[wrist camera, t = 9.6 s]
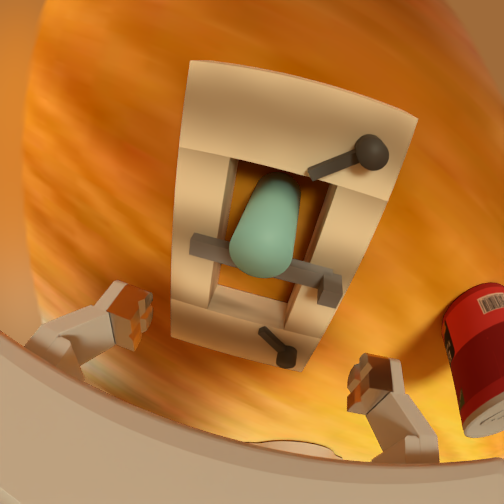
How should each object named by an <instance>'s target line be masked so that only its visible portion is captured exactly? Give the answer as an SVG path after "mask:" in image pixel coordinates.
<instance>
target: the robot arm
mask: <svg viewBox="0 0 504 504" xmlns="http://www.w3.org/2000/svg"><path fill="white" fill-rule="evenodd" d="M152 301H153V294H152V293H151V292H148V291H146V290H143V289H141V288H138V287H135V286H133V285H130V284H127V283H125V282H122V281H120V280H116V281H114V282H113V283H112V284H111V285H110V287H109V288H108V289H107V290H106V292H105V293H104V294H103V295H102V297H101V298H100V299H99V300H98V302H97V303H96V304H95V305H94V306H92V305H89V306H87V307H84V308H82V309H79V310H77V311H74V312H72V313H69V314H67V315H64V316H62V317H59V318H57V319H54V320H52V321H49V322H47V323H44V324H42V325H41V326H40V327H39V328H38V330H37V331H36V332H35V333H34V335H33V336H32V337H31V338H30V340H29V341H28V342H27V343H26V345H25V346H22V345H20V344H19V343H18V342H16V341H15V340H13V339H12V338H10V337H9V336H7V335H6V334H4V333H3V332H2V331H0V504H504V460H503V459H502V458H489V459H481V460H472V461H461V462H447V463H440V462H439V450H438V440H437V435H436V434H435V432H434V431H433V429H432V428H431V426H430V425H429V423H428V422H427V421H426V419H425V418H424V416H423V415H422V413H421V412H420V411H419V409H418V408H417V406H416V405H415V404H414V402H413V401H412V399H411V398H410V397H409V395H408V394H405V389H404V381H403V374H402V367H401V362H400V360H398V359H393V358H387V357H383V356H378V355H373V354H368V353H364V354H363V355H362V356H361V357H360V363H359V364H356V365H354V367H353V368H352V369H351V371H350V374H349V377H348V385H347V388H348V389H349V391H350V392H351V393H350V395H349V396H348V397H347V412H353V413H358V414H364V415H366V417H367V419H368V422H369V424H370V426H371V428H372V430H373V432H374V434H375V436H376V438H377V440H378V442H379V444H380V446H381V448H382V450H383V452H382V453H381V454H379V455H378V456H376V457H375V458H373V459H372V462H361V461H349V460H343V459H342V458H340V457H338V456H336V455H335V454H334V453H333V451H331V450H330V449H328V448H325V447H323V446H319V445H315V444H310V443H303V442H292V441H273V442H265V443H246V442H242V441H238V440H234V439H230V438H227V437H223V436H220V435H216V434H213V433H209V432H206V431H203V430H200V429H197V428H194V427H190V426H187V425H185V424H182V423H179V422H176V421H173V420H170V419H168V418H165V417H162V416H160V415H157V414H154V413H152V412H149V411H147V410H144V409H142V408H139V407H137V406H135V405H132V404H130V403H128V402H125V401H123V400H121V399H119V398H116V397H114V396H112V395H110V394H108V393H106V392H104V391H102V390H99V389H97V388H95V387H93V386H91V385H89V384H87V383H85V382H84V380H85V378H84V375H83V373H82V370H81V368H80V366H81V365H82V364H84V363H86V362H88V361H89V360H91V359H93V358H94V357H96V356H98V355H99V354H101V353H103V352H105V351H106V350H108V349H110V348H111V347H113V346H115V344H116V345H119V346H121V347H124V348H126V349H129V350H132V351H134V352H135V350H136V348H137V346H138V345H139V343H140V341H141V340H142V336H141V333H143V332H145V331H147V329H148V328H149V326H150V323H151V320H152V317H153V307H152V306H151V302H152Z"/></svg>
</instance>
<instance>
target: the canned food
mask: <svg viewBox="0 0 504 504" xmlns="http://www.w3.org/2000/svg"><path fill="white" fill-rule="evenodd" d="M442 337H443V340H444V344H445V348H446V352H447V355H448V359H449V363H450V368H451V372H452V376H453V381H454V385H455V390H456V395H457V400H458V405H459V411H460V416H461V421H462V427H463V430H464V434H465V436H467V437H470V438H479V437H485V436H489V435H493V434H496V433H498V432H501V431H503V430H504V286H503V285H501V284H498V283H485V284H481V285H478V286H476V287H473V288H472V289H470V290H468V291H466V292H465V293H463V294H462V295H461V296H459V297H458V298H457V299H456V300H455V301H454V302H453V303H452V304H451V305H450V307H449V308H448V310H447V311H446V313H445V315H444V317H443V322H442Z"/></svg>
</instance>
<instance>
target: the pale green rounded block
mask: <svg viewBox="0 0 504 504" xmlns="http://www.w3.org/2000/svg"><path fill="white" fill-rule="evenodd" d="M300 198H301V191H300V187H299V185H298V183H297V182H296V180H295V179H294V178H293V177H291V176H290V175H288V174H286V173H282V172H272V173H268V174H266V175H265V176H263V177H262V178H261V179H260V180H259V182H258V183H257V185H256V187H255V190H254V192H253V194H252V196H251V198H250V200H249V202H248V204H247V206H246V208H245V211H244V213H243V215H242V217H241V219H240V221H239V223H238V225H237V228H236V230H235V232H234V234H233V236H232V238H231V241H230V244H229V252H230V256H231V259H232V261H233V262H234V264H235V265H236V266H237V267H238V268H239V269H240V270H241V271H243V272H244V273H246V274H248V275H251V276H254V277H258V278H271V277H275V276H277V275H280V274H281V273H283V272H284V271H285V270H286V269H287V268H288V267H289V265H290V263H291V261H292V256H293V249H294V242H295V235H296V228H297V221H298V213H299V206H300Z"/></svg>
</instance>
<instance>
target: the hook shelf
mask: <svg viewBox="0 0 504 504" xmlns="http://www.w3.org/2000/svg"><path fill="white" fill-rule="evenodd" d="M417 121H418V118H416V117H414V116H413V115H411V114H409V113H407V112H405V111H404V110H401V109H399V108H396V107H394V106H391V105H389V104H386V103H383V102H381V101H378V100H375V99H372V98H369V97H367V96H364V95H361V94H358V93H355V92H351V91H348V90H345V89H342V88H339V87H335V86H332V85H328V84H325V83H321V82H318V81H314V80H310V79H306V78H302V77H298V76H294V75H290V74H285V73H281V72H276V71H271V70H266V69H261V68H256V67H250V66H244V65H238V64H232V63H225V62H217V61H209V60H195V61H190V66H189V72H188V79H187V86H186V93H185V100H184V108H183V116H182V124H181V133H180V142H179V152H178V162H177V174H176V186H175V200H174V216H173V235H172V260H171V337H173V338H176V339H179V340H183V341H186V342H189V343H192V344H195V345H199V346H202V347H205V348H209V349H212V350H215V351H219V352H222V353H226V354H229V355H233V356H237V357H240V358H244V359H248V360H252V361H256V362H260V363H264V364H268V365H272V366H276V367H280V368H284V369H289V370H294V371H298V372H302V371H303V369H304V367H305V366H306V364H307V362H308V360H309V359H310V357H311V355H312V354H313V352H314V350H315V348H316V347H317V345H318V343H319V341H320V340H321V338H322V336H323V334H324V332H325V331H326V329H327V327H328V325H329V323H330V321H331V319H332V318H333V316H334V314H335V312H336V310H337V308H338V306H339V304H340V302H341V301H342V299H343V297H344V295H345V293H346V291H347V289H348V287H349V285H350V283H351V281H352V279H353V277H354V275H355V273H356V271H357V269H358V267H359V264H360V262H361V260H362V258H363V256H364V254H365V252H366V250H367V247H368V245H369V243H370V241H371V239H372V236H373V234H374V232H375V230H376V227H377V225H378V223H379V221H380V218H381V216H382V214H383V211H384V209H385V207H386V204H387V202H388V199H389V197H390V194H391V192H392V189H393V187H394V184H395V182H396V179H397V177H398V174H399V172H400V169H401V166H402V164H403V161H404V158H405V156H406V153H407V150H408V147H409V144H410V142H411V139H412V136H413V133H414V130H415V127H416V124H417ZM239 159H240V160H244V161H248V162H253V163H257V164H261V165H265V166H269V167H273V168H277V169H281V170H285V171H289V172H292V173H296V174H300V175H303V176H307V177H311V179H312V181H315V180H317V179H318V180H321V181H325V182H328V183H330V184H329V187H328V191H327V194H326V197H325V200H324V203H323V206H322V209H321V212H320V215H319V218H318V221H317V223H316V226H315V229H314V232H313V235H312V238H311V241H310V244H309V246H308V249H307V252H306V255H305V258H304V260H303V261H300V260H297V259H293V258H292V261H291V263H290V265H289V267H288V268H287V269H286V270H285V271H284V272H283V273H281V274H280V275H277V276H275V277H274V278H278V279H281V280H285V281H289V282H293V283H295V285H294V288H293V291H292V293H291V296H290V298H289V301H288V303H285V302H281V301H277V300H273V299H270V298H266V297H262V296H258V295H255V294H251V293H247V292H243V291H240V290H236V289H232V288H229V287H225V286H222V285H218V279H219V273H220V267H221V263H222V264H225V265H229V266H233V267H236V268H238V267H237V266H236V265H235V264H234V262H233V261H232V259H231V256H230V252H229V244H230V242H229V241H225V236H226V230H227V224H228V218H229V212H230V206H231V201H232V195H233V189H234V184H235V178H236V173H237V167H238V162H239Z"/></svg>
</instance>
